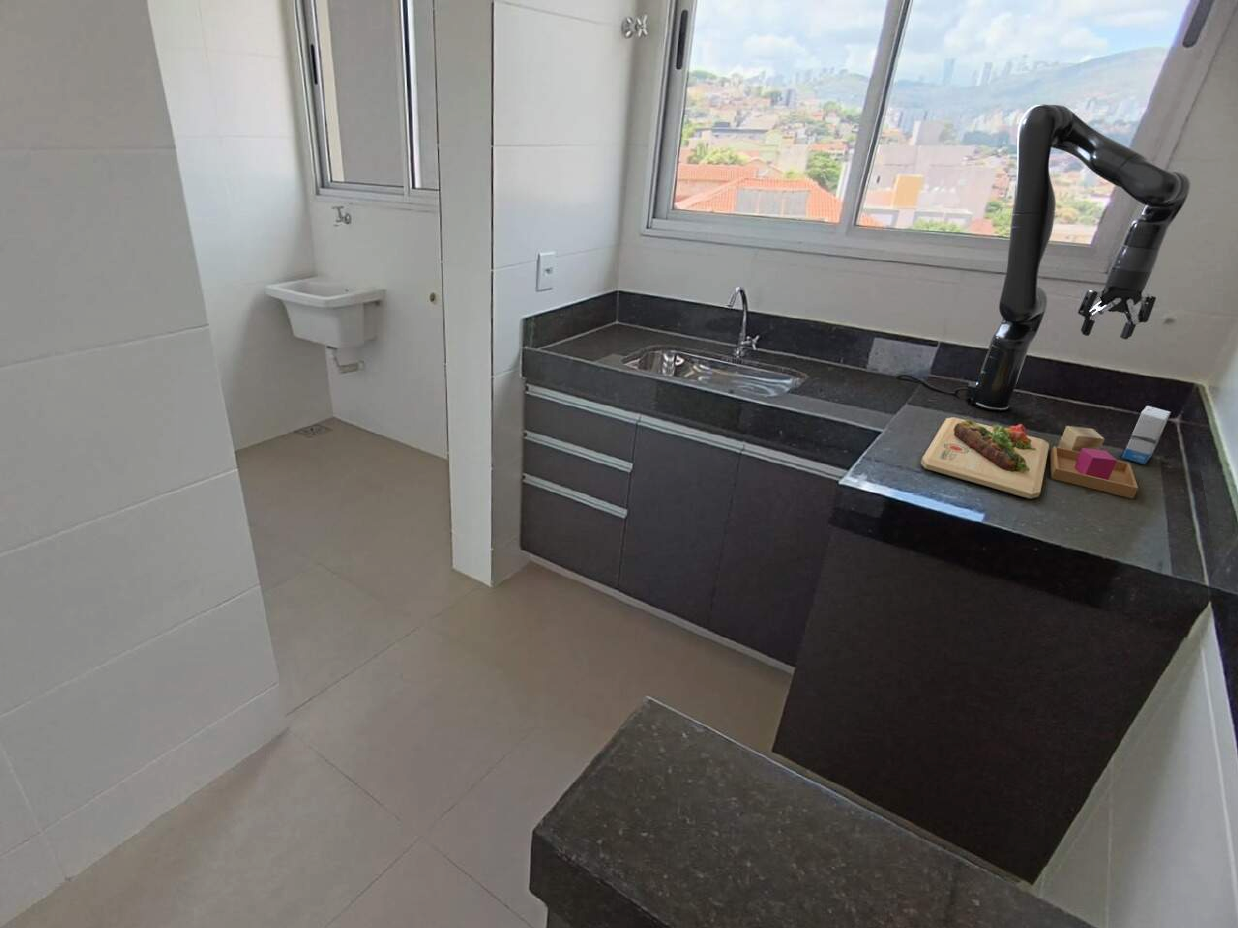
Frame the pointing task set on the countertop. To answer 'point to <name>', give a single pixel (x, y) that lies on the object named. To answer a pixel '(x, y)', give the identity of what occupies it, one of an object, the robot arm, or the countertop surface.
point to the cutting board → (989, 456)
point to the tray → (1117, 484)
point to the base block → (1080, 439)
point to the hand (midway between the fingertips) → (1104, 336)
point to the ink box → (1146, 434)
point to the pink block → (1095, 463)
